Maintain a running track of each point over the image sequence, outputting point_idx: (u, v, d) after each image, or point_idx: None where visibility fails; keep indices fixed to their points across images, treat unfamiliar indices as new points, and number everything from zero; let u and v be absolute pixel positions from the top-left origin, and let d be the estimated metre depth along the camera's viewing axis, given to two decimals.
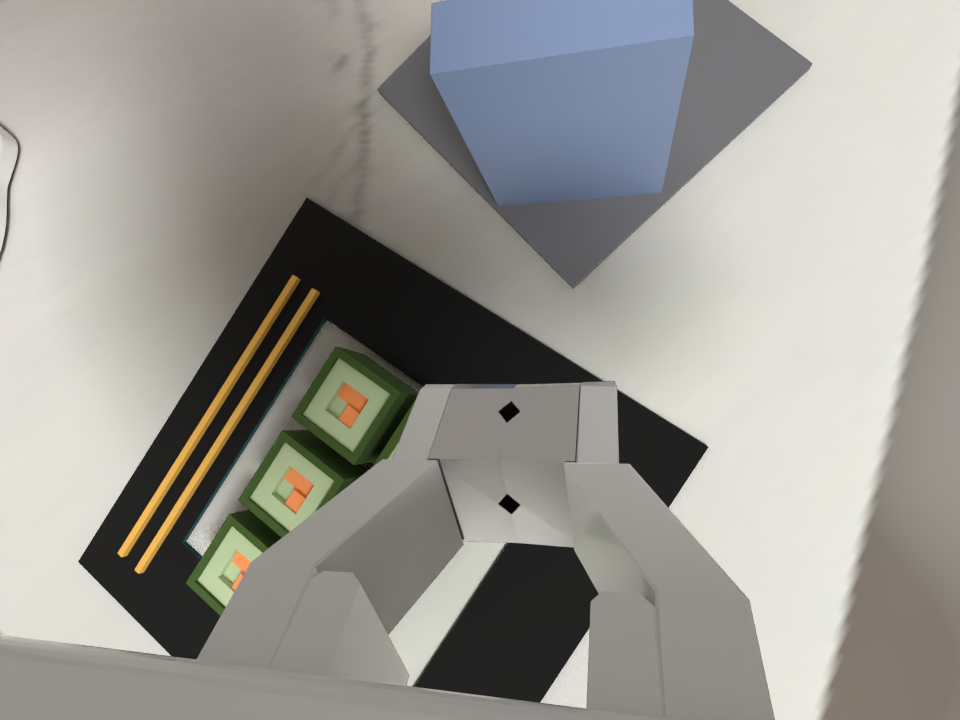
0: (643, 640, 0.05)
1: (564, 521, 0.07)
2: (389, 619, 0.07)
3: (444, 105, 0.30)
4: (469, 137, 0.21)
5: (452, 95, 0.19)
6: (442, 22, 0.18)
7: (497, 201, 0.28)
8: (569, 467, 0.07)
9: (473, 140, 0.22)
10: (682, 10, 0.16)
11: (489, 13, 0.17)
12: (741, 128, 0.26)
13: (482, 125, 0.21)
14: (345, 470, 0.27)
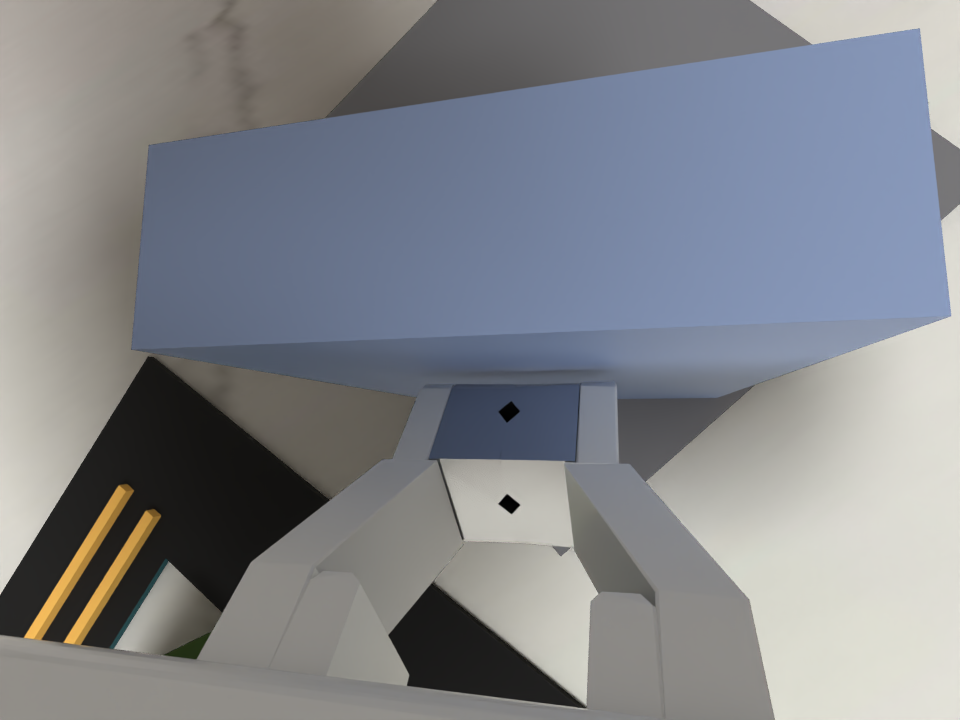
0: (643, 640, 0.05)
1: (564, 521, 0.07)
2: (389, 619, 0.07)
3: None
4: (330, 380, 0.10)
5: (234, 361, 0.07)
6: (170, 201, 0.06)
7: None
8: (569, 467, 0.07)
9: (342, 381, 0.10)
10: (899, 219, 0.05)
11: (288, 184, 0.06)
12: None
13: (346, 375, 0.09)
14: None
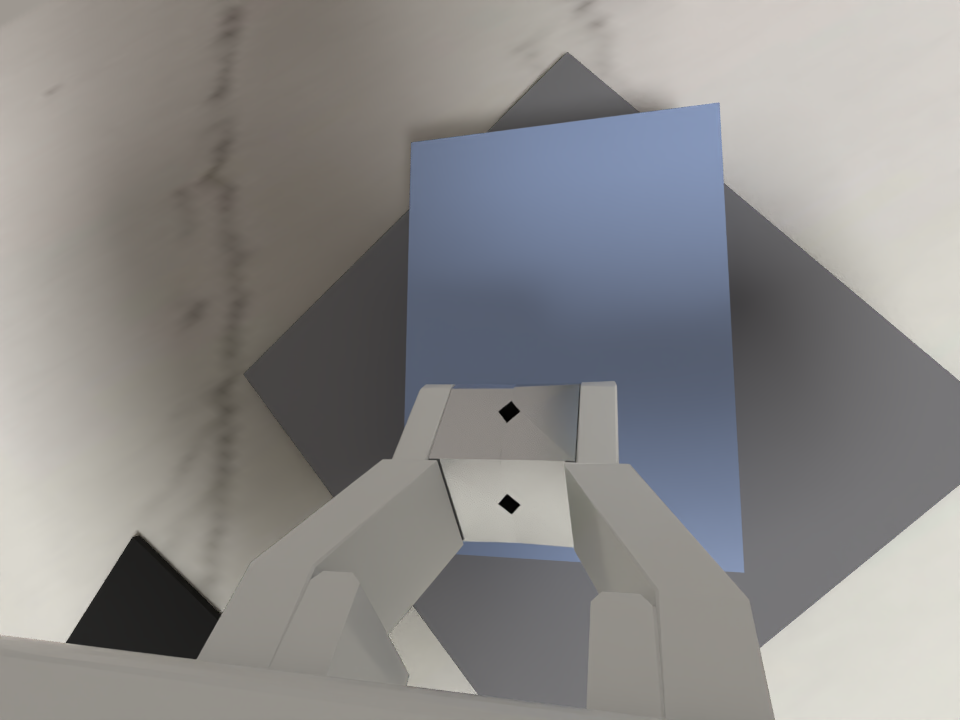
0: (643, 640, 0.05)
1: (564, 521, 0.07)
2: (389, 619, 0.07)
3: (347, 418, 0.18)
4: (416, 282, 0.15)
5: (423, 184, 0.15)
6: None
7: None
8: (569, 467, 0.07)
9: (420, 293, 0.15)
10: None
11: None
12: (881, 546, 0.14)
13: (442, 255, 0.15)
14: None
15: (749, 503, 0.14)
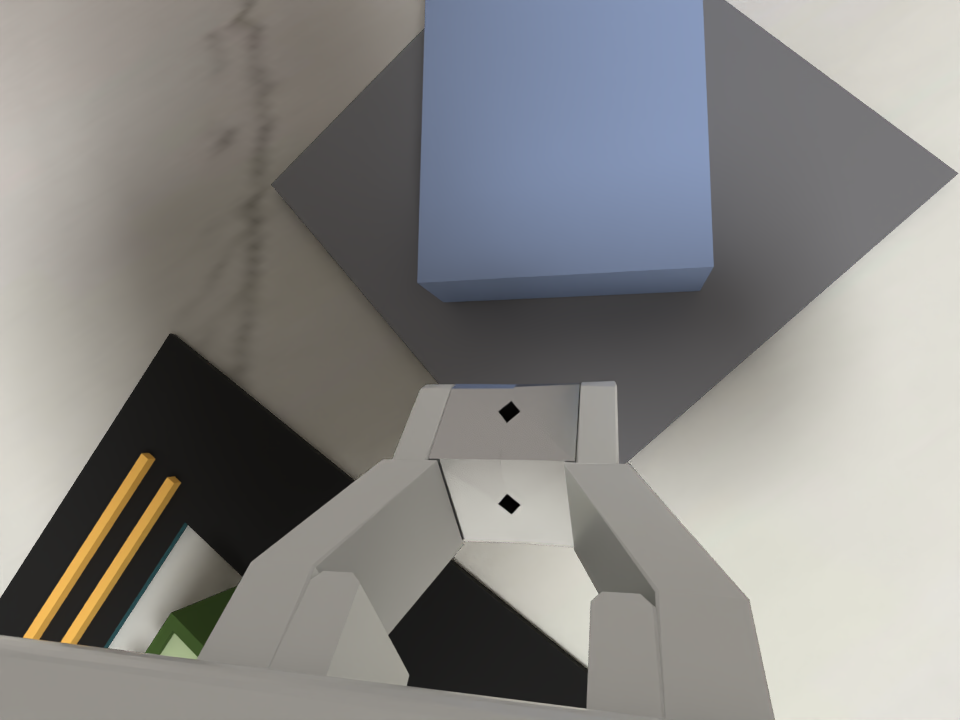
0: (643, 640, 0.05)
1: (564, 521, 0.07)
2: (389, 619, 0.07)
3: (366, 213, 0.20)
4: (431, 59, 0.17)
5: None
6: None
7: (420, 259, 0.16)
8: (569, 467, 0.07)
9: (434, 67, 0.17)
10: None
11: None
12: (836, 277, 0.16)
13: (454, 34, 0.17)
14: None
15: (723, 252, 0.16)
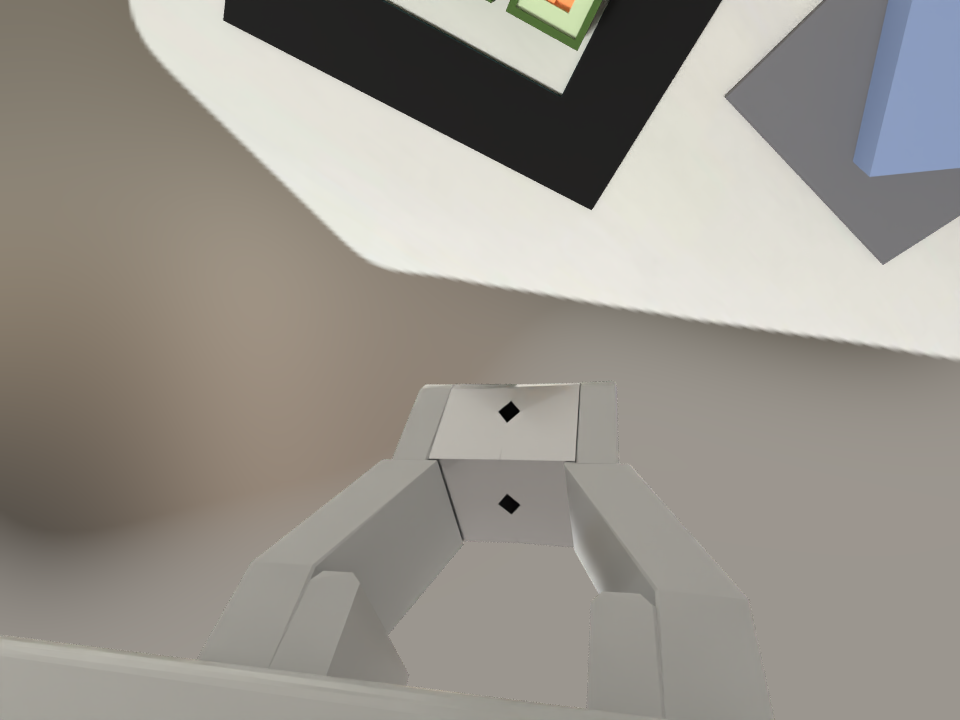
0: (643, 640, 0.05)
1: (564, 521, 0.07)
2: (389, 619, 0.07)
3: None
4: None
5: None
6: None
7: None
8: (569, 467, 0.07)
9: None
10: None
11: None
12: (842, 221, 0.33)
13: None
14: None
15: None
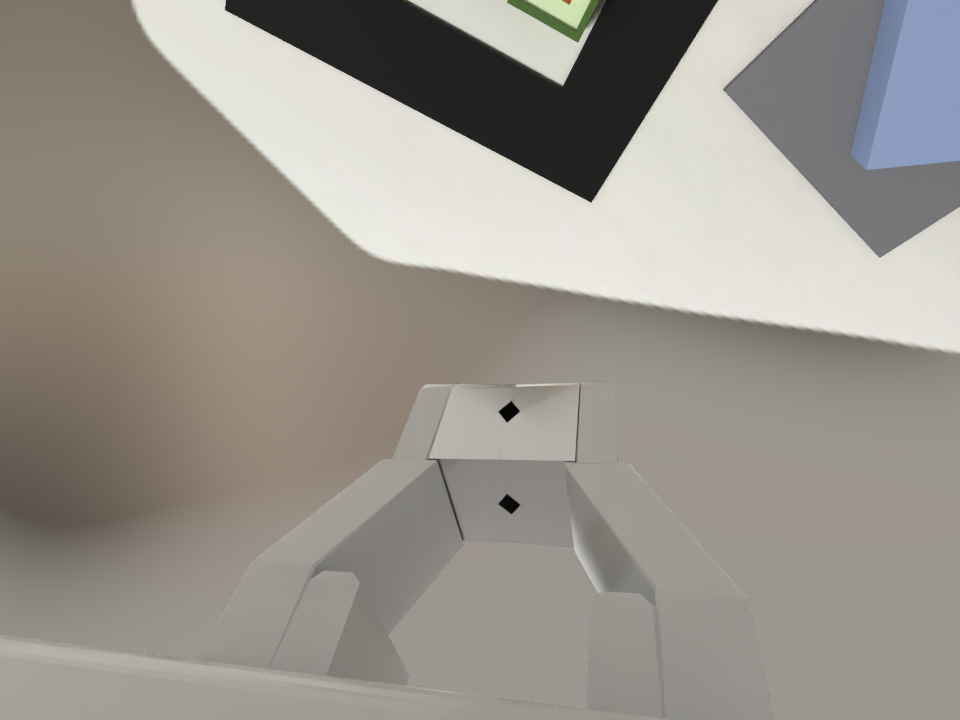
0: (643, 640, 0.05)
1: (564, 521, 0.07)
2: (389, 619, 0.07)
3: None
4: None
5: None
6: None
7: None
8: (569, 467, 0.07)
9: None
10: None
11: None
12: (840, 214, 0.33)
13: None
14: None
15: None
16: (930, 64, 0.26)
